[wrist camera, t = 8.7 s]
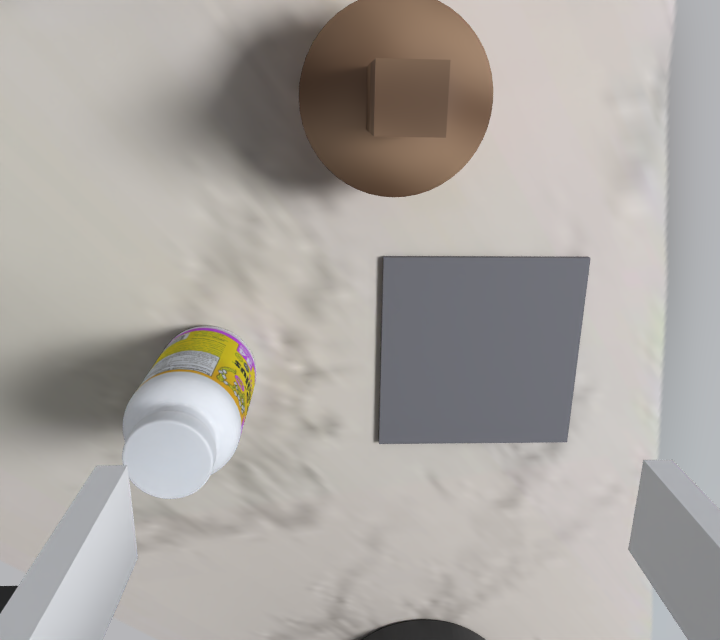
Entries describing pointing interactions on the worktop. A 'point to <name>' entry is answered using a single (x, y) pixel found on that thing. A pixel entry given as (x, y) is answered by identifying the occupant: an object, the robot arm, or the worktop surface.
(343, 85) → the lid
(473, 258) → the mat
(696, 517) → the robot arm
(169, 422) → the supplement bottle
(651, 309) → the worktop surface
